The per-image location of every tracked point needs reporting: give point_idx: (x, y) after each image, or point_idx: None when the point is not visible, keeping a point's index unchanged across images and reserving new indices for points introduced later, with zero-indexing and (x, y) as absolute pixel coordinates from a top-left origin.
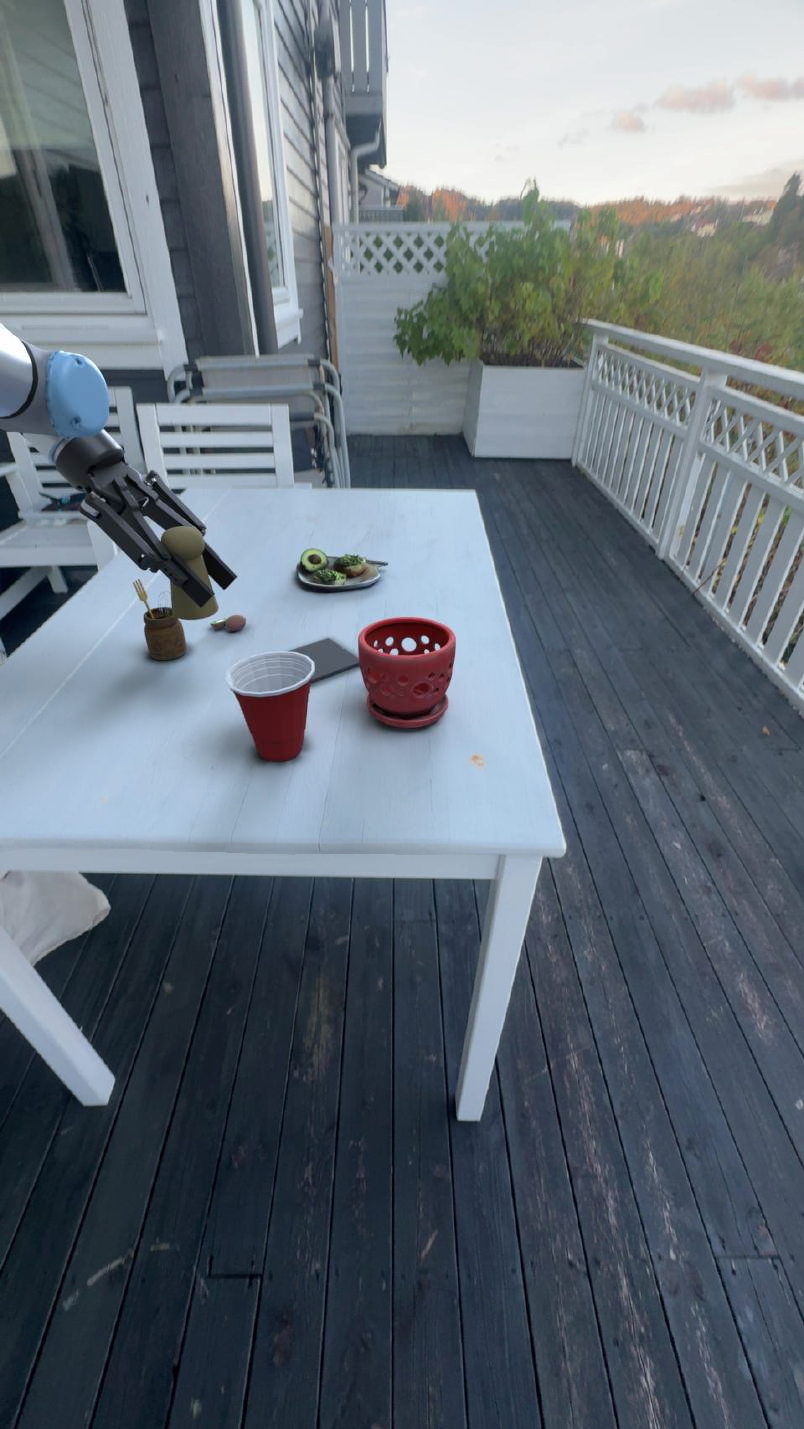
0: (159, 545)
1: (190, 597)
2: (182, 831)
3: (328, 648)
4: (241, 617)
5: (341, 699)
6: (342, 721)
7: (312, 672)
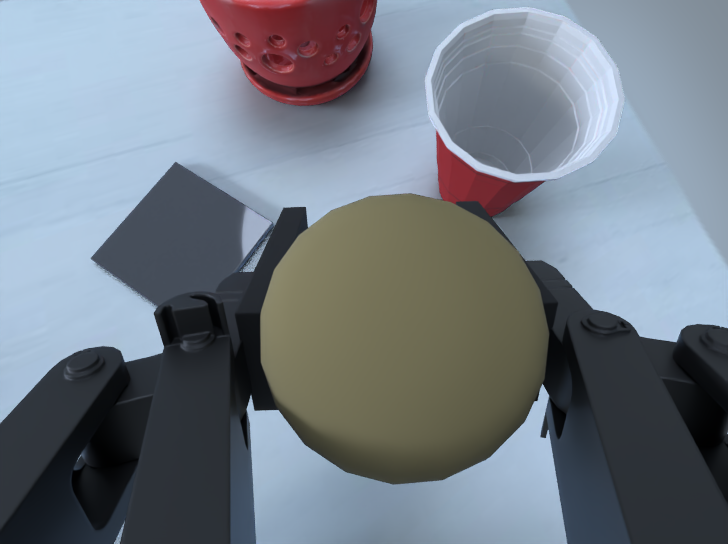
0: (617, 365)
1: None
2: (696, 224)
3: (138, 239)
4: None
5: (307, 157)
6: (369, 133)
7: (501, 9)
